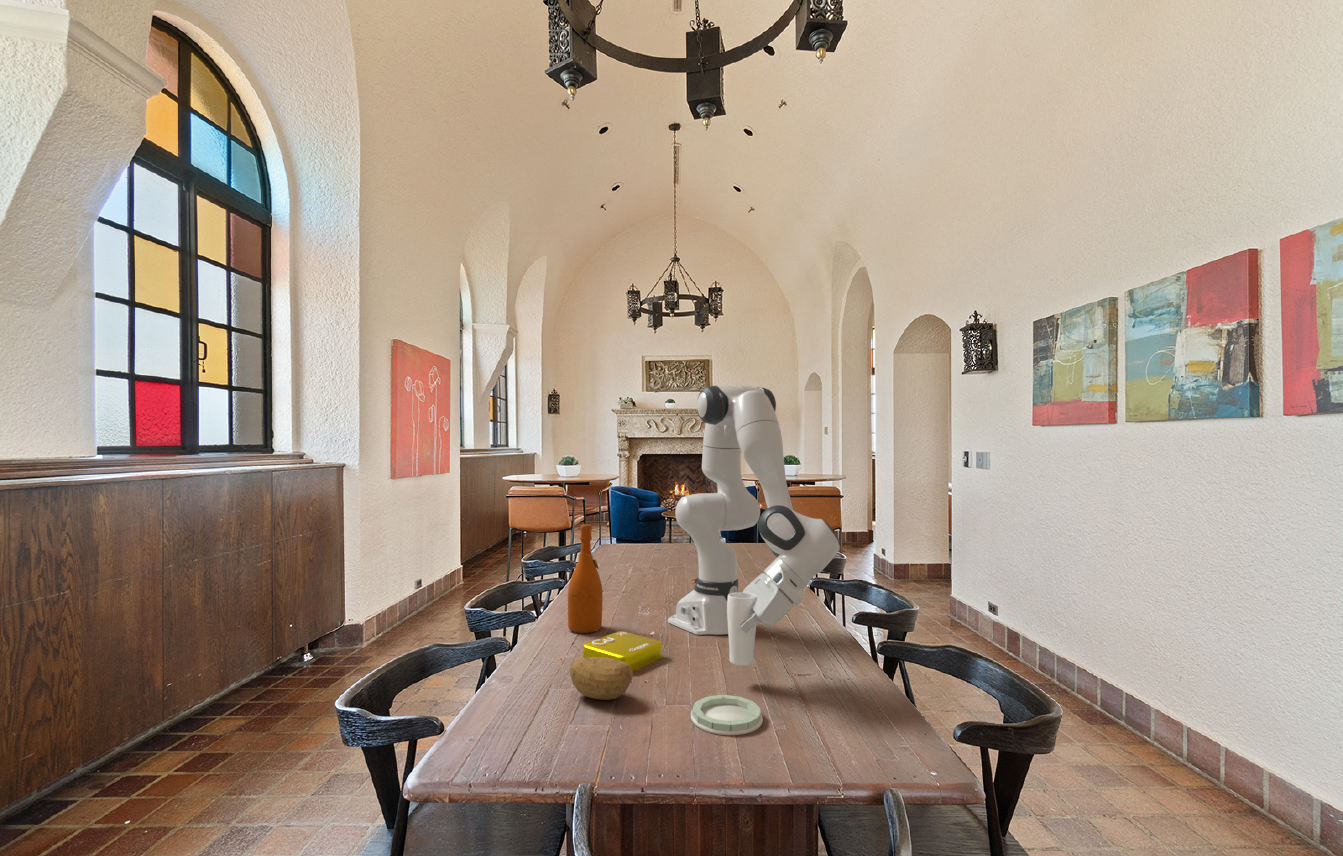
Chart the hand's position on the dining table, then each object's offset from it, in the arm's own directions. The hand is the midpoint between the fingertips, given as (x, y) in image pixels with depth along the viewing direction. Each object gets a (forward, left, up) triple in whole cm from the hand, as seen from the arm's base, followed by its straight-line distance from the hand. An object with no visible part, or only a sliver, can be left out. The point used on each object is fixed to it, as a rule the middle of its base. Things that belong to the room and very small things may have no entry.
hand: (739, 624), depth 137 cm
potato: (-16, -27, -13) cm, 34 cm away
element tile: (-30, -8, -14) cm, 34 cm away
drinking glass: (+1, 0, -9) cm, 9 cm away
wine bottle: (-55, 0, -13) cm, 57 cm away
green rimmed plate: (+9, -16, -13) cm, 22 cm away
